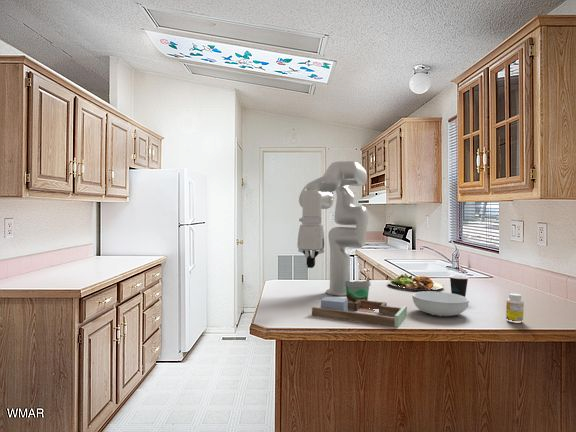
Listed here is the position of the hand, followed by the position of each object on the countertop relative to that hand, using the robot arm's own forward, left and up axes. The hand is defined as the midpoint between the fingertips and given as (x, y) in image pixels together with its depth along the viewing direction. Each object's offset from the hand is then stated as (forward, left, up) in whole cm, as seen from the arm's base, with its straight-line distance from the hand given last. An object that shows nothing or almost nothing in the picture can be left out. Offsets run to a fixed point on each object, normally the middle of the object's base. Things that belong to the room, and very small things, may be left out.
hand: (310, 267), depth 170 cm
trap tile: (-10, +22, -17) cm, 29 cm away
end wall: (0, +36, -17) cm, 39 cm away
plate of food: (-72, +30, -18) cm, 80 cm away
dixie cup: (-46, +52, -17) cm, 72 cm away
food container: (-19, +15, -17) cm, 30 cm away
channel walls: (-3, +19, -17) cm, 26 cm away
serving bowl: (-19, +47, -17) cm, 54 cm away
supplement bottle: (-19, +73, -17) cm, 77 cm away
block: (0, +10, -17) cm, 20 cm away
